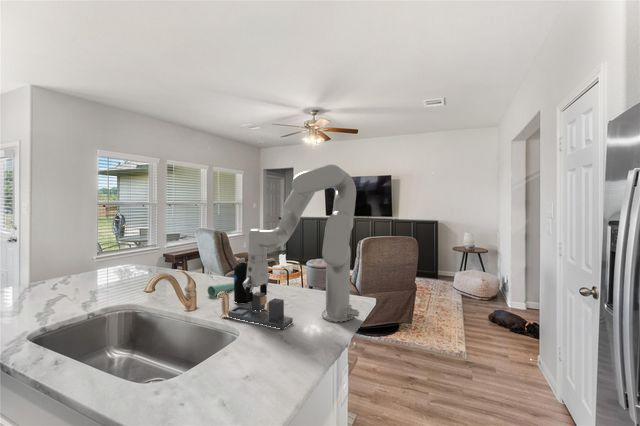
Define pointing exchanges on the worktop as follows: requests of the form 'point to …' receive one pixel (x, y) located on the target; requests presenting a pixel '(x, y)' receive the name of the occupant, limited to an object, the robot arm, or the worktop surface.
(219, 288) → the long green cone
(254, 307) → the dark grey block
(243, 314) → the rail
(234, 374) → the worktop surface
